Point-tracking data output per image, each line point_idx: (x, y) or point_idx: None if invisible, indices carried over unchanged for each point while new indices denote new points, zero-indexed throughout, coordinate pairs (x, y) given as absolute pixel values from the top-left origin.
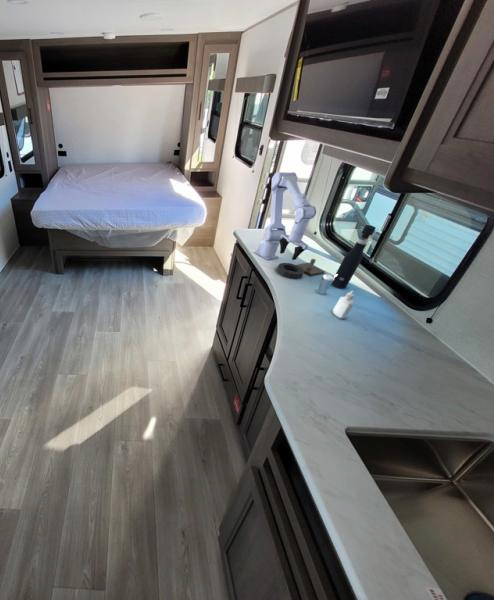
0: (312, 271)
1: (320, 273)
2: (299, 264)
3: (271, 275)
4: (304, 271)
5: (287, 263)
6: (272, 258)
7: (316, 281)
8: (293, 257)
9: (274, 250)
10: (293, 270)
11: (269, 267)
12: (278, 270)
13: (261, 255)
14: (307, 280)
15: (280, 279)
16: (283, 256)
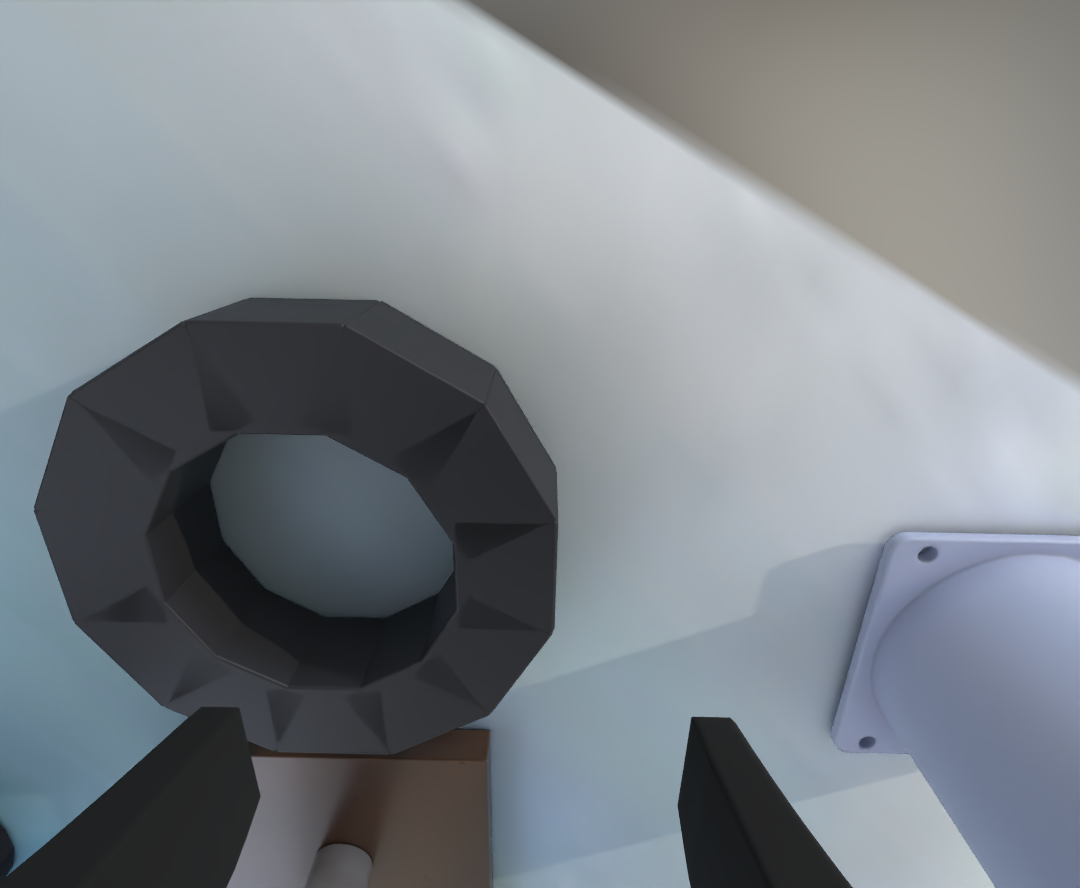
0: None
1: None
2: (481, 828)
3: (337, 53)
4: None
5: (501, 662)
6: (859, 644)
7: (31, 687)
8: (129, 776)
9: (984, 785)
10: (370, 630)
11: (646, 330)
12: (400, 328)
13: (1063, 544)
14: None
15: (134, 122)
16: None
